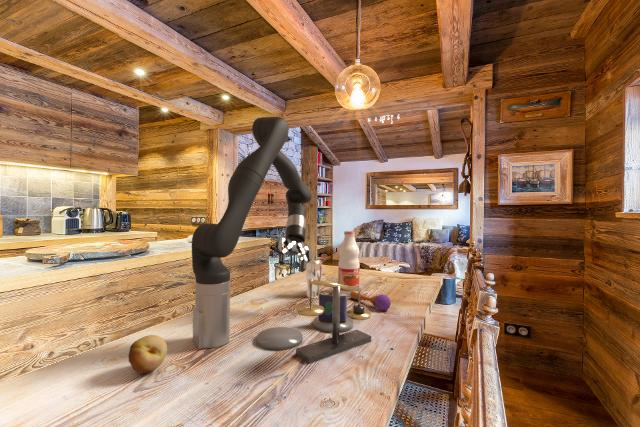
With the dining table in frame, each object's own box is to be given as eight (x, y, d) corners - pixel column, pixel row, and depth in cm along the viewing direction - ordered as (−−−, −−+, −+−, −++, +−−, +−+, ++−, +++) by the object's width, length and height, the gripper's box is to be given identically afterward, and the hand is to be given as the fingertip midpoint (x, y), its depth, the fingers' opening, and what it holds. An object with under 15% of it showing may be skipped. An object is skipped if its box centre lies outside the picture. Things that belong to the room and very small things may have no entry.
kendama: (358, 288, 133) (394, 296, 117) (357, 302, 132) (393, 312, 116) (348, 287, 130) (383, 295, 114) (346, 302, 129) (382, 312, 113)
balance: (306, 366, 74) (307, 283, 74) (290, 354, 80) (292, 278, 80) (375, 340, 89) (376, 272, 89) (358, 332, 95) (359, 268, 95)
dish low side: (330, 336, 92) (330, 332, 92) (305, 322, 102) (305, 319, 102) (361, 326, 100) (361, 323, 100) (335, 315, 110) (335, 311, 110)
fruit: (123, 382, 66) (124, 345, 66) (135, 363, 74) (135, 330, 74) (162, 377, 68) (163, 342, 68) (169, 360, 76) (170, 327, 76)
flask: (346, 320, 102) (347, 288, 102) (346, 323, 99) (347, 290, 99) (318, 319, 103) (319, 287, 103) (317, 322, 100) (318, 289, 100)
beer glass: (319, 299, 129) (320, 263, 129) (303, 297, 131) (304, 262, 130) (322, 294, 136) (323, 260, 136) (307, 293, 138) (308, 259, 137)
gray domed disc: (270, 354, 80) (270, 350, 80) (249, 337, 90) (249, 333, 90) (311, 342, 88) (311, 338, 88) (287, 327, 98) (287, 323, 98)
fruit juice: (350, 290, 144) (351, 230, 144) (363, 295, 136) (364, 232, 136) (333, 292, 139) (334, 230, 139) (346, 298, 131) (347, 232, 131)
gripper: (284, 218, 112) (280, 258, 102) (316, 231, 118) (315, 269, 109) (274, 227, 117) (269, 266, 107) (305, 239, 123) (303, 276, 114)
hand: (292, 268), depth 108 cm, fingers open, 8 cm apart
